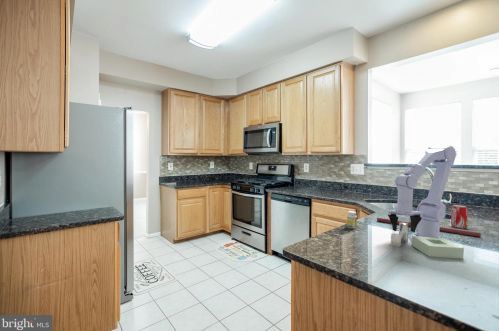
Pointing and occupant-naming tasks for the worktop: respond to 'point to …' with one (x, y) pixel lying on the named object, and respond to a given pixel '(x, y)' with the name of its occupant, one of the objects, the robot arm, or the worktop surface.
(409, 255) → the worktop surface
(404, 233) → the long pin
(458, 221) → the soda can
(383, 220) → the rolling pin
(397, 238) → the short pin
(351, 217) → the supplement bottle
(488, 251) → the worktop surface
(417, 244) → the hole block
